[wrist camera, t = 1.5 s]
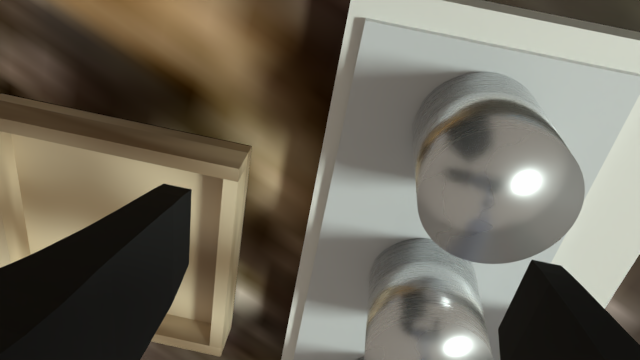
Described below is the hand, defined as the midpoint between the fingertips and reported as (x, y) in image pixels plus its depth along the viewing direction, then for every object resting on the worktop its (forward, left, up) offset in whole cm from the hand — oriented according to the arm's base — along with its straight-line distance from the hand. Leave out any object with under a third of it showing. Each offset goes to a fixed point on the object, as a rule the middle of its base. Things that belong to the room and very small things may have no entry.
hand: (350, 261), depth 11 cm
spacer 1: (-7, -4, -8) cm, 12 cm away
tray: (-9, +10, -10) cm, 17 cm away
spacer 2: (0, -4, -8) cm, 9 cm away
